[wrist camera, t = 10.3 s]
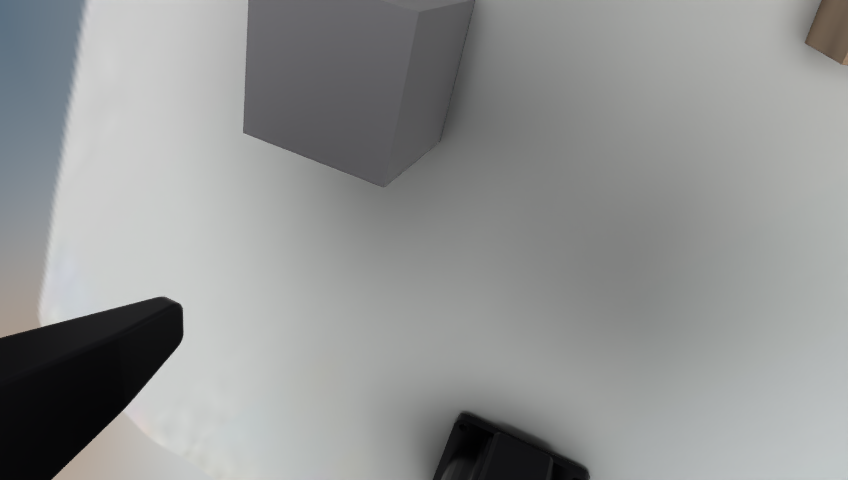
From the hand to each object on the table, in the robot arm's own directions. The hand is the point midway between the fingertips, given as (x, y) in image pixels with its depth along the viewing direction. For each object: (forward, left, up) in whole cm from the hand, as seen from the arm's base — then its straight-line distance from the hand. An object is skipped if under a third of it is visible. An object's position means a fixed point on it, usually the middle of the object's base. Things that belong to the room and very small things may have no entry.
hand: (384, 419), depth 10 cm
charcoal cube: (+3, +6, -12) cm, 14 cm away
